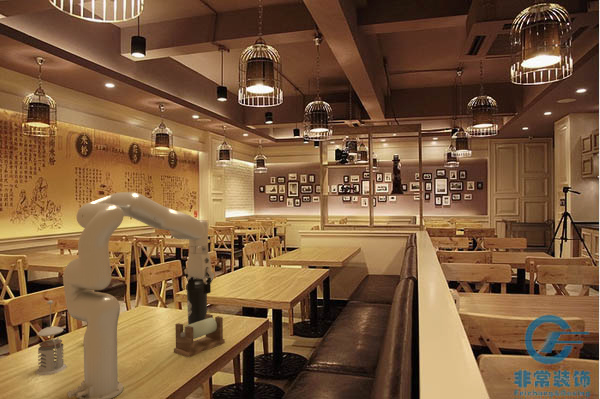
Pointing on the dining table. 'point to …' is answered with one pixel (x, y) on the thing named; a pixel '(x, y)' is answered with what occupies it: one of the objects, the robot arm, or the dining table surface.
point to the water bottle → (196, 302)
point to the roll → (202, 327)
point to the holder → (191, 347)
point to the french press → (50, 351)
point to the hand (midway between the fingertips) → (199, 291)
